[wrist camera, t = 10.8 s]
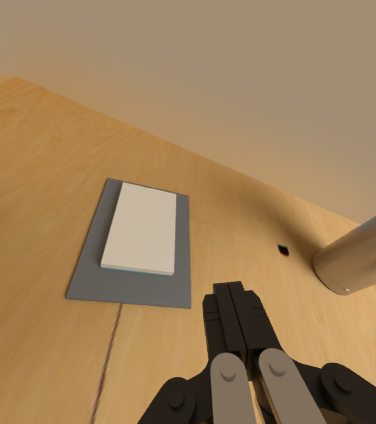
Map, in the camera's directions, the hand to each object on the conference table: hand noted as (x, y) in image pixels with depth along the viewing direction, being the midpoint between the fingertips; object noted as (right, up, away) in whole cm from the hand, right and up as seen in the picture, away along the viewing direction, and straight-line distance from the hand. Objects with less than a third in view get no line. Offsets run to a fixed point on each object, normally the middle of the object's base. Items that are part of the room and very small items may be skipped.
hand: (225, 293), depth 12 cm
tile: (-9, -4, +18) cm, 20 cm away
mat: (-10, +1, +23) cm, 25 cm away
